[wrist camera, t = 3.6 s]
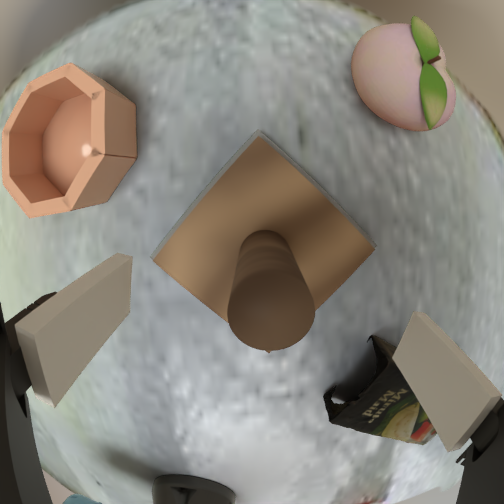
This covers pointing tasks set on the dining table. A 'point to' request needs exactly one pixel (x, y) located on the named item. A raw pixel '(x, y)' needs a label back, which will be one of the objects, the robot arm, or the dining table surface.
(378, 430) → the juice carton
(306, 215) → the lid
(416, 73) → the decorative fruit
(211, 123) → the dining table surface
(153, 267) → the dining table surface
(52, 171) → the bowl
